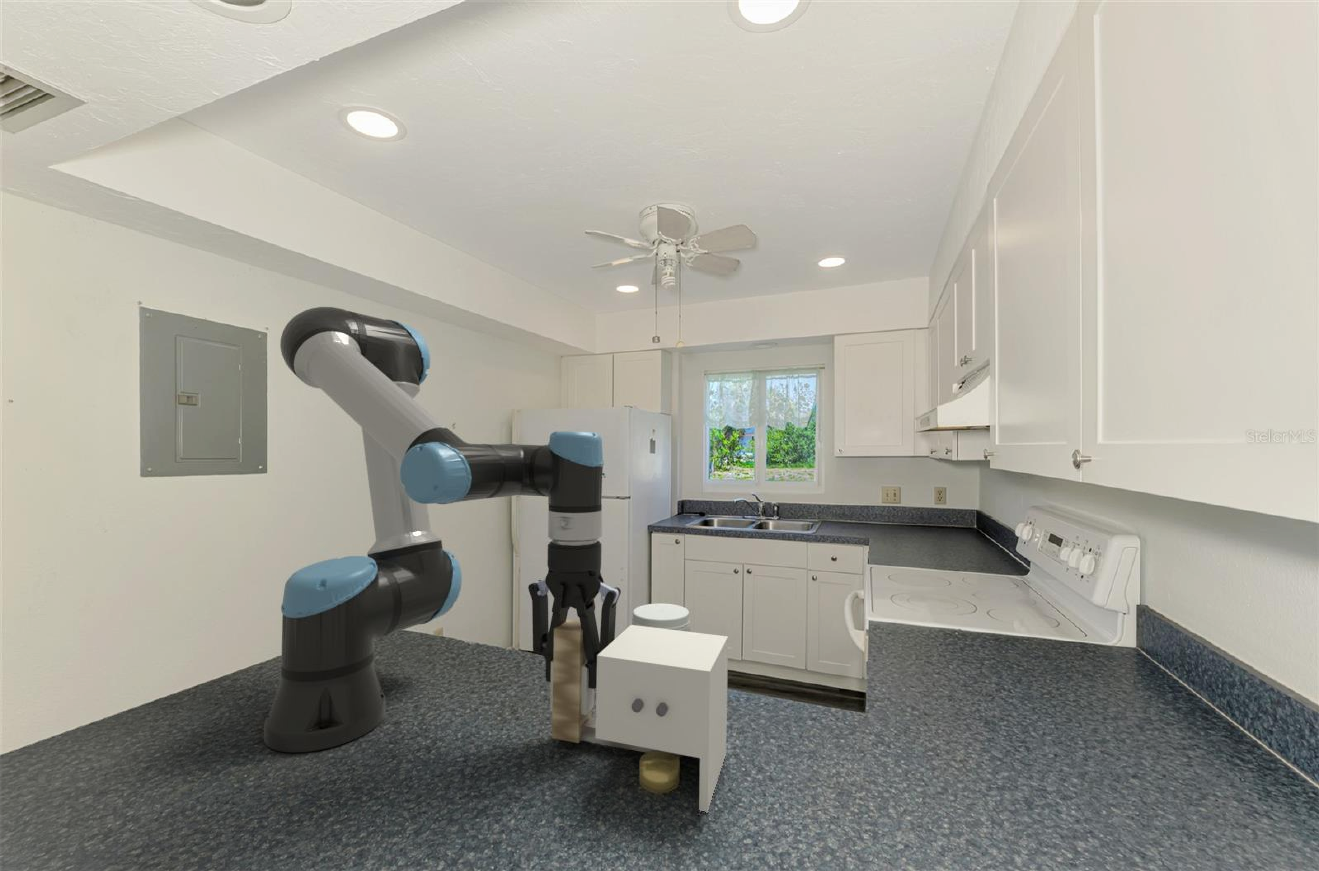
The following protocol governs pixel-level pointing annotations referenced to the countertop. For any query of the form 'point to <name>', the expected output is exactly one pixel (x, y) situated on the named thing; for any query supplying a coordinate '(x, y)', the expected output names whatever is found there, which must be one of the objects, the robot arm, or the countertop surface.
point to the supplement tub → (662, 617)
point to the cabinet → (666, 696)
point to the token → (659, 771)
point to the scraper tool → (573, 690)
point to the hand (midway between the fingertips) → (572, 706)
